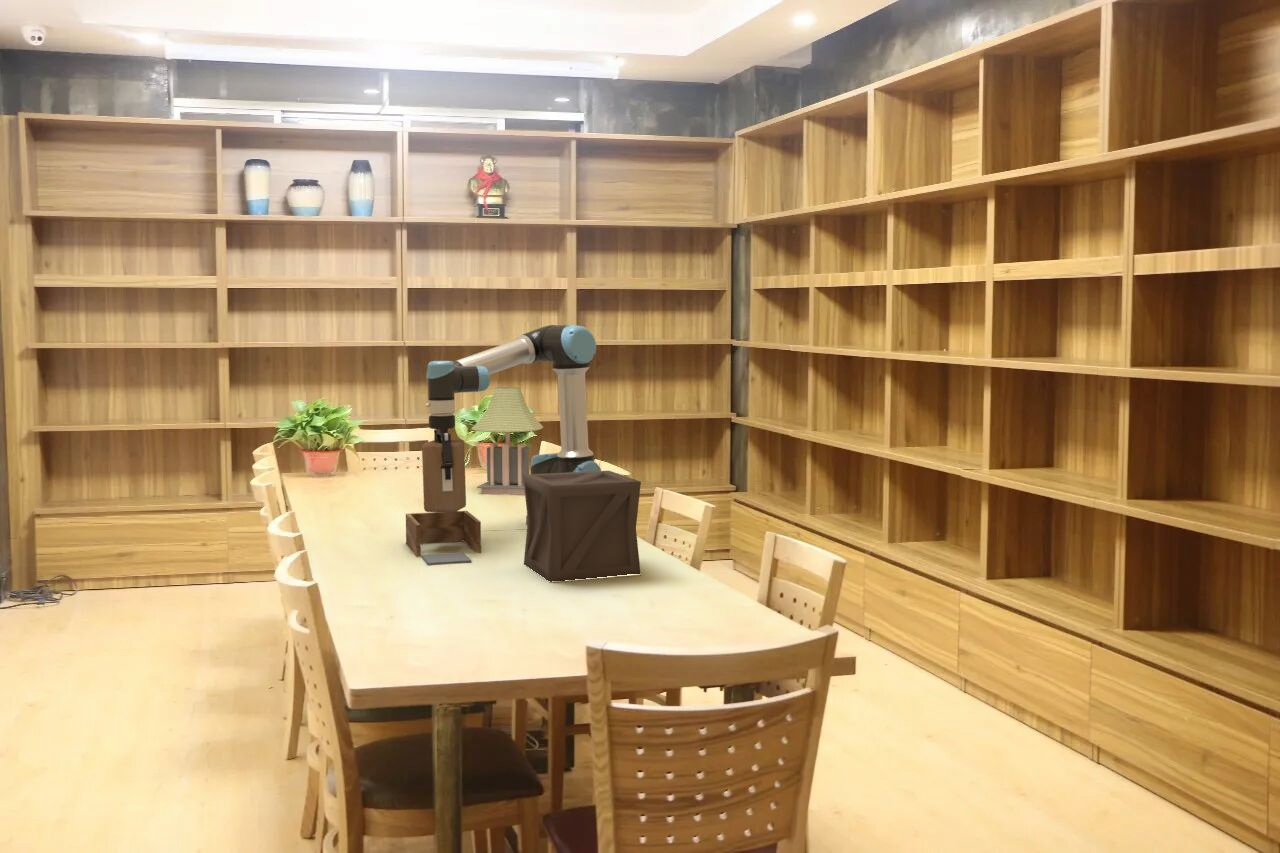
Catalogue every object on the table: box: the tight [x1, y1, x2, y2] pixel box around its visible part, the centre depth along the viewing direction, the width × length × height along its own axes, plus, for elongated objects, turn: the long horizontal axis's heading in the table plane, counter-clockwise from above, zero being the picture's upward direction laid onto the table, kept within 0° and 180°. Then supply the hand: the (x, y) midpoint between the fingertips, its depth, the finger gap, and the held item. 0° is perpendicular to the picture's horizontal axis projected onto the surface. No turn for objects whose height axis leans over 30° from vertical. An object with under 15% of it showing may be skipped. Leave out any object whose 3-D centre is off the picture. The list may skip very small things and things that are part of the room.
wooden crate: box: [523, 470, 642, 583], centre depth 334 cm, size 25×25×25 cm
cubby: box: [405, 510, 482, 558], centre depth 366 cm, size 18×21×9 cm
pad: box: [420, 552, 473, 566], centre depth 349 cm, size 12×12×1 cm
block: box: [421, 439, 467, 513], centre depth 363 cm, size 10×10×20 cm
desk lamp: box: [471, 386, 544, 496], centre depth 479 cm, size 26×28×40 cm
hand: (443, 487), depth 363 cm, fingers closed on block, 13 cm apart
